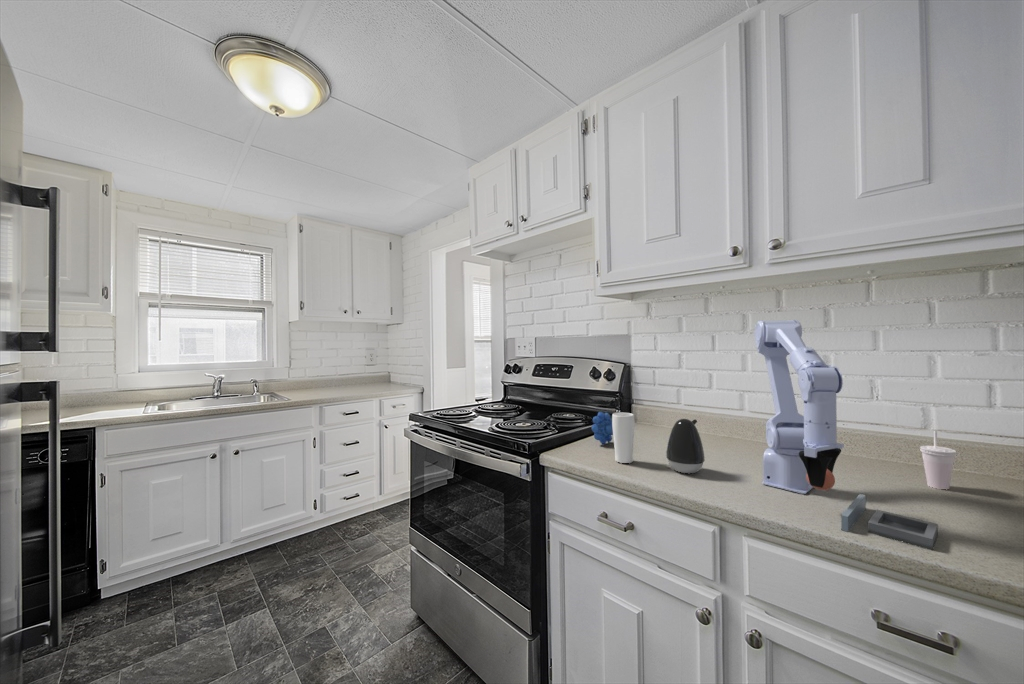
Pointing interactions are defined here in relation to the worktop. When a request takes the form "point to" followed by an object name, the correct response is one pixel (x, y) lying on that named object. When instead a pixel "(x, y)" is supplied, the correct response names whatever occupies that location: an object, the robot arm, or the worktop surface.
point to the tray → (903, 529)
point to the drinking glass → (623, 436)
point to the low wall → (853, 512)
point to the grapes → (602, 427)
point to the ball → (826, 481)
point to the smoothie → (938, 464)
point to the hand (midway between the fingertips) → (820, 482)
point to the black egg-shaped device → (685, 447)
